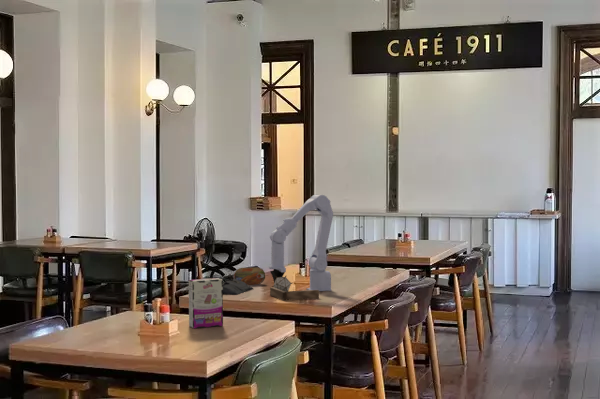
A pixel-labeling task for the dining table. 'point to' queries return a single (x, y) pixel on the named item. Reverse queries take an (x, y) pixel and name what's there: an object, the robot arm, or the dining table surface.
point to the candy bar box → (205, 303)
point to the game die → (282, 283)
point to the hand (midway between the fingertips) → (277, 286)
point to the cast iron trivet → (235, 287)
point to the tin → (250, 275)
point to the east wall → (277, 293)
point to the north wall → (301, 294)
